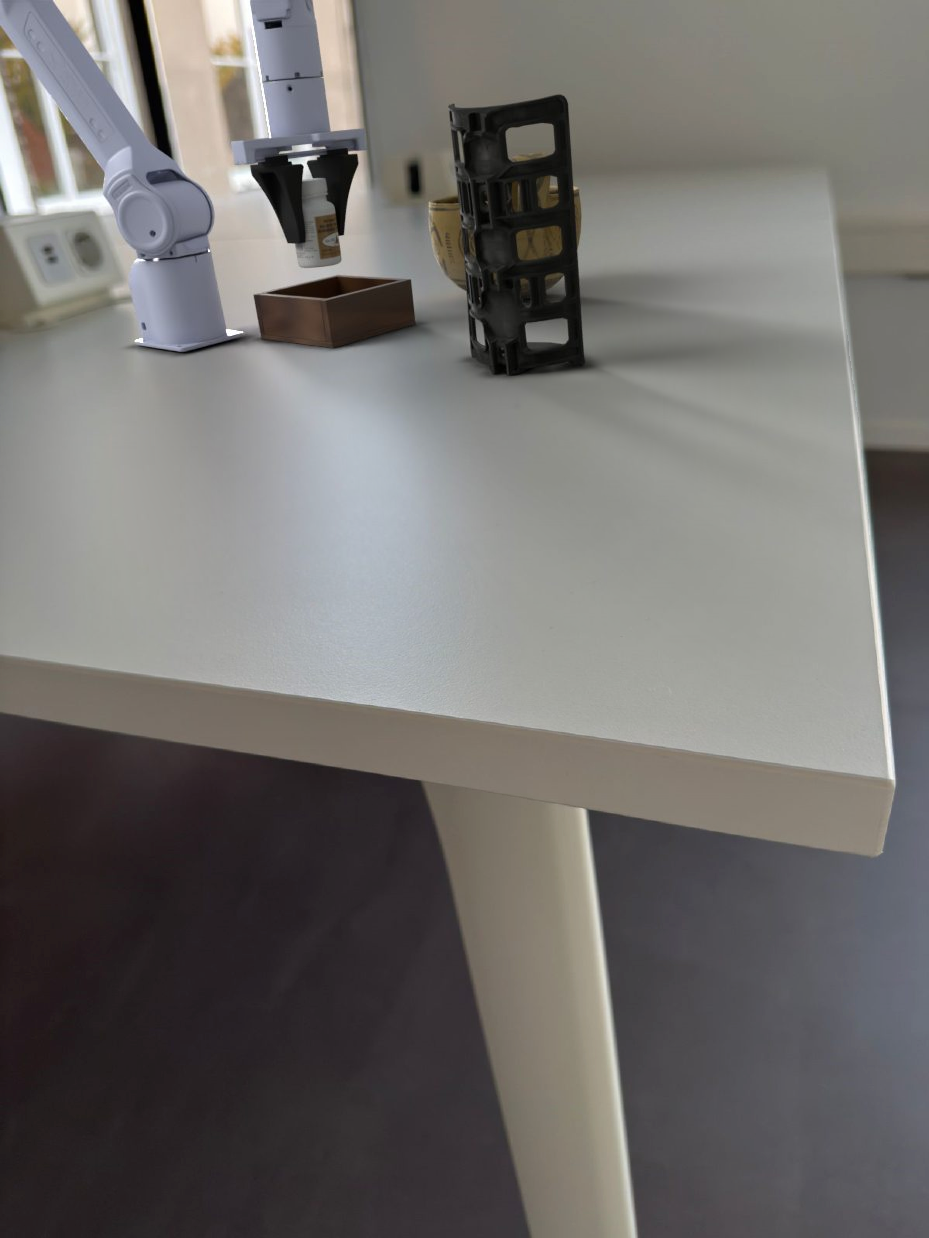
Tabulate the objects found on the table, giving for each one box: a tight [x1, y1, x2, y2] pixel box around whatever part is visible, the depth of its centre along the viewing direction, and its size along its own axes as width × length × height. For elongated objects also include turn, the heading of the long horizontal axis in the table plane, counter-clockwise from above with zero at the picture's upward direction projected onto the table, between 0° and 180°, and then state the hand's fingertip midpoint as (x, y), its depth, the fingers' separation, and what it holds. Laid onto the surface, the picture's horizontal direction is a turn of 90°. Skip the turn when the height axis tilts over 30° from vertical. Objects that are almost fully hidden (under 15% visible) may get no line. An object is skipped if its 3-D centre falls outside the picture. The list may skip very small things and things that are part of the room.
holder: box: [447, 93, 586, 376], centre depth 74 cm, size 11×8×20 cm
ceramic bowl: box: [428, 151, 582, 300], centre depth 105 cm, size 22×17×15 cm
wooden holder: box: [253, 274, 417, 349], centre depth 98 cm, size 12×12×4 cm
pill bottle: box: [294, 177, 343, 269], centre depth 92 cm, size 4×4×8 cm
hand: (315, 239), depth 92 cm, fingers closed on pill bottle, 4 cm apart
